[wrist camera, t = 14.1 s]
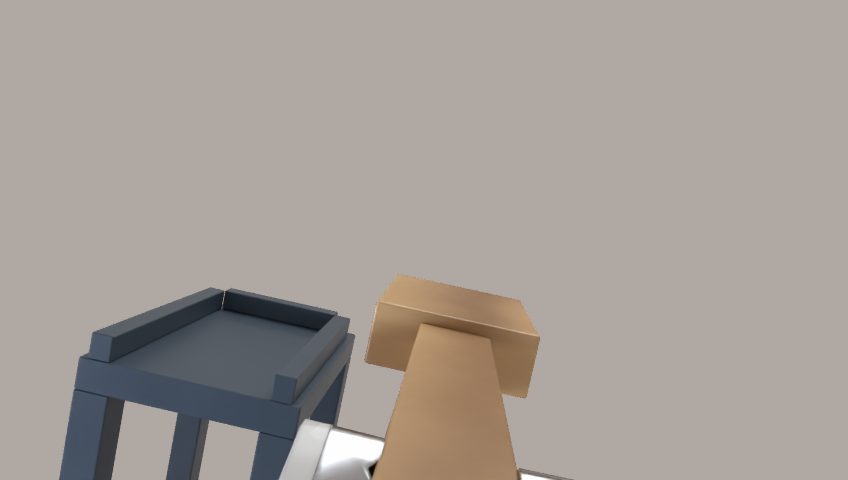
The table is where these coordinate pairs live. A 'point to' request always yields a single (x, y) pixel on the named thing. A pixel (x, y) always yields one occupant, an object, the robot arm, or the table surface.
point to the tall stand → (210, 378)
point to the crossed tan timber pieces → (450, 379)
